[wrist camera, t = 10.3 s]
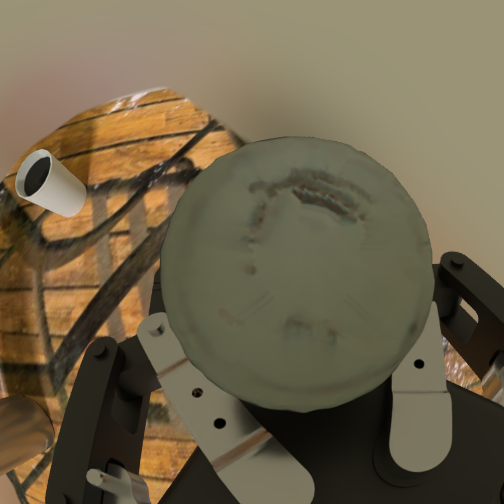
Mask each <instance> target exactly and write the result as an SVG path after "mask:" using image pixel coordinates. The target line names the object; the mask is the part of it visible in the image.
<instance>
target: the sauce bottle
mask: <svg viewBox="0 0 504 504" xmlns="http://www.w3.org/2000/svg"><path fill="white" fill-rule="evenodd" d="M160 281H161V290H162V298H163V304H164V307H165V311H166V315H167V318H168V322H169V325H170V328H171V329H172V331H173V333H174V334H175V336H176V337H177V339H178V341H179V342H180V344H181V346H182V349H183V351H184V353H185V355H186V357H187V358H188V359H189V361H190V362H191V363H192V365H193V366H194V367H196V368H197V369H198V370H199V371H201V372H202V373H203V374H204V376H205V377H206V378H207V379H208V380H209V381H211V382H212V383H213V384H215V385H216V386H217V387H219V388H220V389H221V390H223V391H225V392H227V393H229V394H231V395H233V396H235V397H237V398H239V399H241V400H243V401H245V402H248V403H250V404H252V405H255V406H258V407H262V408H266V409H270V410H282V411H291V412H297V413H308V412H311V411H314V410H318V409H329V408H334V407H337V406H339V405H342V404H345V403H347V402H350V401H352V400H354V399H356V398H358V397H360V396H362V395H365V394H367V393H369V392H371V391H372V390H374V389H375V388H376V387H378V386H379V385H380V384H381V383H383V382H384V381H385V380H386V379H387V378H388V377H389V376H390V375H391V374H392V373H393V372H394V371H395V370H396V369H397V367H398V366H399V365H400V363H401V362H402V360H403V359H404V358H405V356H406V355H407V354H408V353H409V351H410V350H411V349H412V347H413V346H414V345H415V343H416V342H417V340H418V339H419V337H420V336H421V334H422V332H423V330H424V327H425V324H426V322H427V319H428V316H429V313H430V309H431V305H432V299H433V293H434V284H435V279H434V274H433V269H432V248H431V243H430V239H429V234H428V230H427V226H426V223H425V221H424V219H423V217H422V215H421V213H420V211H419V209H418V208H417V206H416V204H415V202H414V201H413V199H412V198H411V197H410V195H409V194H408V193H407V191H406V190H405V188H404V187H403V186H402V185H401V183H400V182H399V181H398V180H397V178H396V177H395V176H394V175H393V173H391V172H390V171H389V170H388V169H386V168H385V167H384V166H382V165H381V164H379V163H378V162H377V161H375V160H374V159H373V158H371V157H370V156H368V155H367V154H366V153H363V152H361V151H358V150H356V149H354V148H353V147H352V146H350V145H347V144H344V143H340V142H336V141H330V140H324V139H319V138H314V137H279V138H273V139H267V140H261V141H257V142H253V143H248V144H246V145H244V146H242V147H240V148H239V149H237V150H235V151H233V152H231V153H228V154H226V155H223V156H221V157H219V158H217V159H216V160H215V161H214V162H213V163H212V164H211V165H210V166H208V167H207V168H206V169H205V170H203V171H202V172H201V173H200V174H198V175H197V177H196V178H195V179H194V181H193V182H192V183H191V185H190V186H189V187H188V188H187V190H186V191H185V192H184V194H183V195H182V196H181V198H180V199H179V201H178V203H177V206H176V208H175V211H174V213H173V215H172V217H171V220H170V222H169V225H168V229H167V232H166V235H165V237H164V240H163V242H162V245H161V247H160Z"/></svg>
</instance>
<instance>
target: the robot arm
mask: <svg viewBox="0 0 504 504" xmlns="http://www.w3.org/2000/svg"><path fill="white" fill-rule="evenodd" d="M432 269H433V274H434V279H435V284H434V293H433V299H432V305H431V309H430V313H429V316H428V319H427V322H426V324H425V327H424V330H423V332H422V334H421V336H420V337H419V339H418V340H417V342H416V343H415V345H414V346H413V347H412V349H411V350H410V351H409V353H408V354H407V355H406V356H405V358H404V359H403V360H402V362H401V363H400V365H399V366H398V367H397V369H396V370H395V371H394V372H393V373H392V374H391V375H390V376H389V377H388V378H387V379H386V380H385V381H384V382H383V383H381V384H380V385H379V386H378V387H376V388H375V389H374V390H372V391H371V392H369V393H367V394H365V395H362V396H360V397H358V398H356V399H354V400H352V401H350V402H347V403H345V404H342V405H339V406H337V407H334V408H329V409H318V410H314V411H311V412H308V413H297V412H291V411H282V410H270V409H266V408H262V407H258V406H255V405H252V404H250V403H248V402H245V401H243V400H241V399H239V398H237V397H235V396H233V395H231V394H229V393H227V392H225V391H223V390H221V389H220V388H219V387H217V386H216V385H215V384H213V383H212V382H211V381H209V380H208V379H207V378H206V377H205V376H204V374H203V373H202V372H201V371H199V370H198V369H197V368H196V367H194V366H193V365H192V363H191V362H190V361H189V359H188V358H187V357H186V355H185V353H184V351H183V349H182V346H181V344H180V342H179V341H178V339H177V337H176V336H175V334H174V333H173V331H172V329H171V328H170V325H169V322H168V318H167V315H166V311H165V307H164V304H163V298H162V290H161V281H160V268H159V269H158V271H157V272H156V274H155V276H154V283H153V284H154V285H153V289H152V291H153V292H152V295H151V302H150V309H149V316H148V317H146V318H145V319H144V320H143V321H142V322H141V323H140V324H139V326H138V329H137V335H135V336H133V337H131V338H129V339H127V340H125V341H123V342H121V343H117V342H116V341H115V340H114V339H113V338H111V337H101V338H99V339H97V340H95V341H94V342H92V343H91V344H90V345H89V346H88V348H87V350H86V352H85V354H84V357H83V360H82V362H81V365H80V368H79V371H78V374H77V377H76V380H75V383H74V386H73V389H72V392H71V395H70V398H69V401H68V404H67V408H66V411H65V414H64V418H63V421H62V425H61V428H60V432H59V436H58V440H57V444H56V448H55V452H54V456H53V460H52V465H51V469H50V474H49V479H48V484H47V490H46V496H45V503H46V504H151V502H150V499H149V490H148V487H147V484H146V483H145V481H144V480H143V479H142V478H141V477H139V476H138V475H139V467H140V459H141V452H142V445H143V438H144V431H145V425H146V419H147V413H148V407H149V401H150V395H151V392H152V391H155V390H157V389H159V388H161V387H162V388H163V390H164V391H165V393H166V395H167V396H168V398H169V400H170V402H171V403H172V405H173V407H174V408H175V410H176V412H177V413H178V415H179V416H180V418H181V420H182V421H183V423H184V424H185V426H186V427H187V429H188V431H189V432H190V434H191V435H192V437H193V438H194V440H195V441H196V443H197V444H198V446H197V447H196V449H195V450H194V452H193V453H192V455H191V456H190V458H189V459H188V461H187V462H186V464H185V465H184V466H183V468H182V469H181V471H180V472H179V474H178V475H177V477H176V478H175V480H174V481H173V482H172V484H171V485H170V487H169V488H168V490H167V491H166V492H165V494H164V495H163V497H162V498H161V499H160V501H159V502H158V504H504V288H503V287H502V286H501V285H500V284H499V283H497V282H496V281H495V280H494V279H493V278H492V277H491V276H490V275H488V274H487V273H486V272H485V271H484V270H482V269H481V268H480V267H479V266H478V265H477V264H475V263H474V262H473V261H472V260H471V259H469V258H468V257H467V256H465V255H463V254H461V253H458V252H447V253H444V254H443V255H442V257H441V260H440V264H432ZM462 298H463V299H464V300H465V301H466V302H467V303H468V304H469V305H470V306H471V307H472V308H473V309H474V310H475V311H476V313H477V315H478V323H477V322H476V321H475V320H474V319H473V318H472V317H471V316H470V315H469V314H468V313H467V312H466V311H465V310H464V309H463V308H462V307H461V306H460V303H461V301H462ZM441 334H442V335H443V336H444V337H445V338H446V339H447V340H448V342H449V343H450V344H451V345H452V346H453V347H454V348H455V350H456V351H457V352H458V353H459V354H460V356H461V357H462V358H463V359H464V360H465V361H466V363H467V364H468V365H469V366H470V368H471V369H472V370H473V371H474V372H475V374H476V375H477V376H478V377H479V379H480V380H481V381H482V389H483V393H482V396H481V395H479V394H476V393H474V392H472V391H470V390H468V389H465V388H463V387H461V386H459V385H457V384H455V383H452V382H450V381H448V380H446V375H445V363H444V353H443V345H442V337H441ZM53 443H54V431H53V427H52V424H51V422H50V420H49V418H48V416H47V415H46V413H45V412H44V410H43V409H42V408H41V407H40V406H39V405H38V404H37V403H36V402H34V401H33V400H31V399H29V398H25V397H23V396H22V395H21V394H20V393H19V394H16V395H13V396H9V397H6V398H2V399H0V476H1V475H3V474H5V473H7V472H8V471H10V470H12V469H14V468H16V467H17V466H19V465H21V464H23V463H24V462H26V461H28V460H30V459H31V458H33V457H35V456H36V455H38V454H40V453H42V452H44V451H45V450H46V449H48V448H50V447H51V446H52V445H53Z"/></svg>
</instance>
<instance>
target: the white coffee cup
mask: <svg viewBox="0 0 504 504" xmlns="http://www.w3.org/2000/svg"><path fill="white" fill-rule="evenodd" d="M15 186H16V191H17V194H18V196H20V197H22V198H24V199H26V200H28V201H30V202H33V203H35V204H37V205H39V206H42V207H44V208H46V209H48V210H51V211H53V212H55V213H57V214H60V215H62V216H64V217H72V216H74V215H75V214H77V213H78V212H79V211H80V210H81V209H82V207H83V205H84V203H85V201H86V195H87V192H86V187H85V186H84V185H83V183H82V182H81V181H80V180H78V179H77V178H76V177H75V176H74V175H73V174H72V173H71V172H70V171H69V170H68V169H67V168H65V167H64V166H63V165H62V164H61V163H60V162H59V161H58V160H57V159H56V158H55V157H54V156H53V155H52V154H51V153H49V152H48V151H47V150H43V149H40V150H37V151H34V152H33V153H32V154H30V155H29V156H28V157H27V158H26V159H25V160H24V162H23V163H22V165H21V167H20V169H19V171H18V173H17V177H16V181H15Z"/></svg>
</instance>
